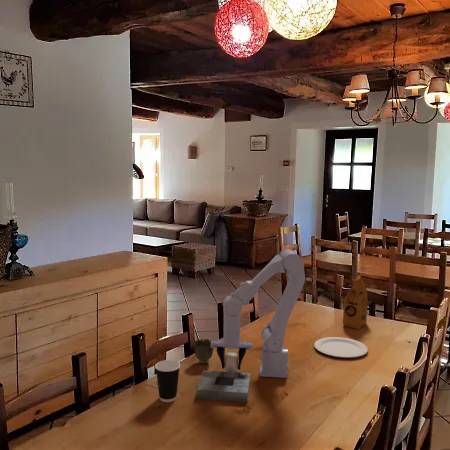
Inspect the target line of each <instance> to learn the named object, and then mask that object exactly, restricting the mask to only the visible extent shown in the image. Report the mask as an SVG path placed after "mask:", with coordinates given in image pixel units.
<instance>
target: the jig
mask: <svg viewBox="0 0 450 450" xmlns="http://www.w3.org/2000/svg"><path fill="white" fill-rule="evenodd" d="M250 388H251V373H250V372H225V371H217V370H205V369H204V370H203V371H202V374H201V377H200V380H199V382H198V385H197V387H196V399H197V400H211V401H227V402H228V401H229V402H239V403H240V402H241V403H243V402H244V403H248V402H249V395H250Z"/></svg>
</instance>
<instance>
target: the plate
mask: <svg viewBox="0 0 450 450" xmlns="http://www.w3.org/2000/svg"><path fill="white" fill-rule="evenodd" d="M313 346H314V348H315V350H317V352H319V353H322V354H323V355H327V356H328V357H334V358H338V359H339V358H341V359H355V358H360V357H363V356H364V355H366V354H367V353H368V351H369V349H368V347H367V346H366V345H365V344H364V343H362V342H360V341H358V340H355V339H352V338H347V337H342V336H341V337H339V336H335V337H334V336H329V337H322V338H319V339H317V340H315V342H314V344H313Z"/></svg>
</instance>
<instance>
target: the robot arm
mask: <svg viewBox="0 0 450 450" xmlns="http://www.w3.org/2000/svg"><path fill="white" fill-rule="evenodd" d="M282 273H284V274H285V273H286V274H287V276H288V281H287V284H286V287H285V289H284V291H283V294H282V296H281V298H280V301H279V302H278V305H277V308H276V310H275V312H274V314H273V317H272V319H270V321H268V323H267V325H266V326H265V327H264V328H263V329H262V330H261V333H260V334H261V336H260V337H261V338H262V341H263V344H262V345H261V362H260V363H261V365H260V369H259V376H260V377H264V378H265V377H266V378H282V379H286V378H287V379H288V370H289V363H288V362H289V358H288V357H289V356H288V355H289V349H287V348H284V343H285V341H284V338H285V336H286V327H287V324H288V321H289V320H290V317H291V315H292V313H293V309H294V308H295V306H296V303H297V302H298V299H299V296H300V295H301V291H302V289H303V287H304V285H305V282H306V273H305V263H304V261H303V260H302V257H300V255H298V254H297V253H296V252H294V250H292V249H290V248H284V249H282V250H281V251H280V252H279V254H276V255H275V256H274V257H273V258H272V259H271V260H270V261H269V262H268V263H267V264H266V266H264V268H263V269H261V271H260V272H258V273H257V274H256V276H255V277H253V278H252V280H246V281H242V282H240V284H239V285H240V286H238V288H237V289H236V290H235V291H234V292H233V291H231V292H230V293H229V294H230V295H227V296H226V297H224V300H223V301H222V306H223V309H224V311H223V339H222V340H211V348H213V349H216V354H217V356H218V358H219V361H220V363H221V368H222V369H223V370H225V354H226V349H228V350H235V349H236V350H237V349H238V352H237V354H238V371H239V370H241V366H242V365H241V364H242V362H243V358H244V357H245V355H246V352H247V350H249V351H253V349H254V348H253V342H249V341H248V342H247V341H243V340H241V314H240V313H241V312H242V310H243V307H244V306H245V305H247V304H248V302H251V299H253V298H254V297H255V296H256V295H257V294H258V293H259V288H260V287H261V286H262V285H263V284H264V283H265V282H267V281H268V280H269V279H270V278H272V277H273V276H274V275H275V274H282Z"/></svg>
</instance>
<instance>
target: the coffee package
mask: <svg viewBox="0 0 450 450" xmlns="http://www.w3.org/2000/svg"><path fill="white" fill-rule="evenodd" d="M349 283H352V286H351V287H350V291H348V292H347V294H346V296H345V297H344V299H343V300H344V301H343V307H342V308H343V313H342V325H343V326H344V327H347V328H352V329H356V330H360V329H361V328H362V327H365V326H366V324H367V316H368V314H367V313H368V289H367V287H366V284H365V282H364V280H363V278H362V276H361V275H357V276H356V279H354V278H353V279H351V280H350V281H349Z"/></svg>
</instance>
